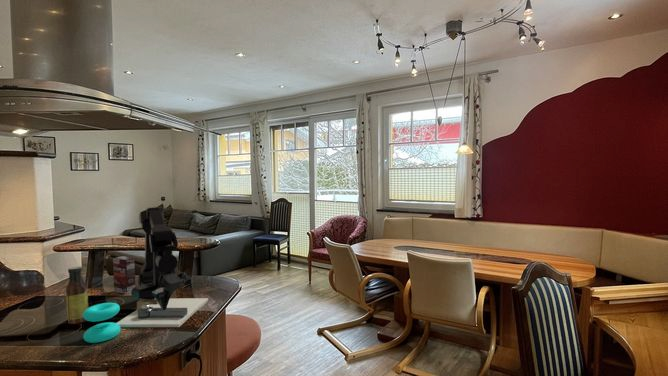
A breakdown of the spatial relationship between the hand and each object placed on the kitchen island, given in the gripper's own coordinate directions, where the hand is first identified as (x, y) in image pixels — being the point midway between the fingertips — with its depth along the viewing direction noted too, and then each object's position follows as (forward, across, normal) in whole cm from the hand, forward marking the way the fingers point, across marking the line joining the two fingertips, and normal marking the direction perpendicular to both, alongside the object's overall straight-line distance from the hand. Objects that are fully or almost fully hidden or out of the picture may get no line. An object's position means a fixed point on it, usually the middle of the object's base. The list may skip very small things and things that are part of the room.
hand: (163, 309), depth 115 cm
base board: (+6, +7, +12) cm, 15 cm away
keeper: (+5, +3, +16) cm, 17 cm away
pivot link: (+5, +3, +7) cm, 9 cm away
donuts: (+6, -15, +10) cm, 19 cm away
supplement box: (+6, +10, +52) cm, 53 cm away
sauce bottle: (+6, -14, +32) cm, 35 cm away
